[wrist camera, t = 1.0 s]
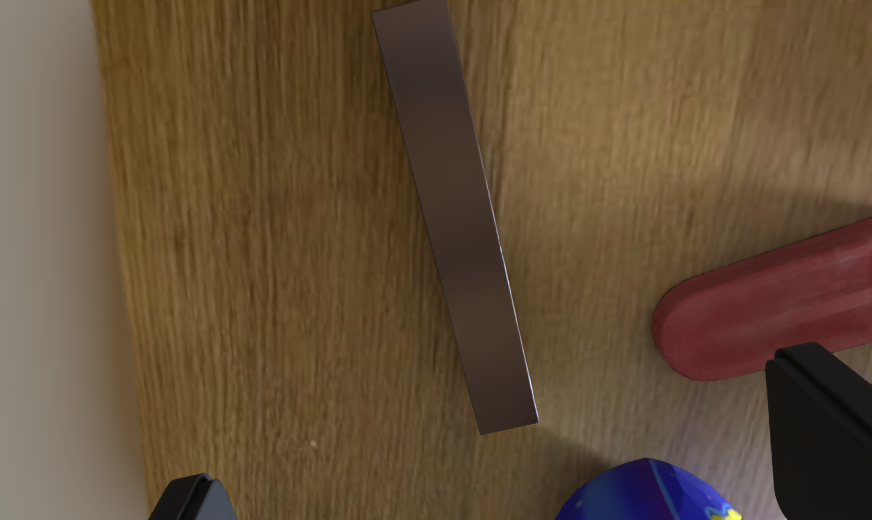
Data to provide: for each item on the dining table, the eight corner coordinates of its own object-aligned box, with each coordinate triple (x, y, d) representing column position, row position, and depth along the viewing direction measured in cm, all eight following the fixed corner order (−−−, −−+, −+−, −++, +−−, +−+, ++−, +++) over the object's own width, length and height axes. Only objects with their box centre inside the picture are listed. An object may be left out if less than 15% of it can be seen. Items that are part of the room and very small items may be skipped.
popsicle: (1069, 290, 24) (675, 401, 26) (1029, 273, 26) (661, 378, 27) (1071, 179, 22) (651, 304, 24) (1028, 168, 24) (638, 286, 26)
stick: (375, 13, 22) (369, 12, 20) (443, -5, 22) (445, -8, 19) (475, 402, 27) (479, 436, 25) (530, 390, 27) (539, 423, 25)
